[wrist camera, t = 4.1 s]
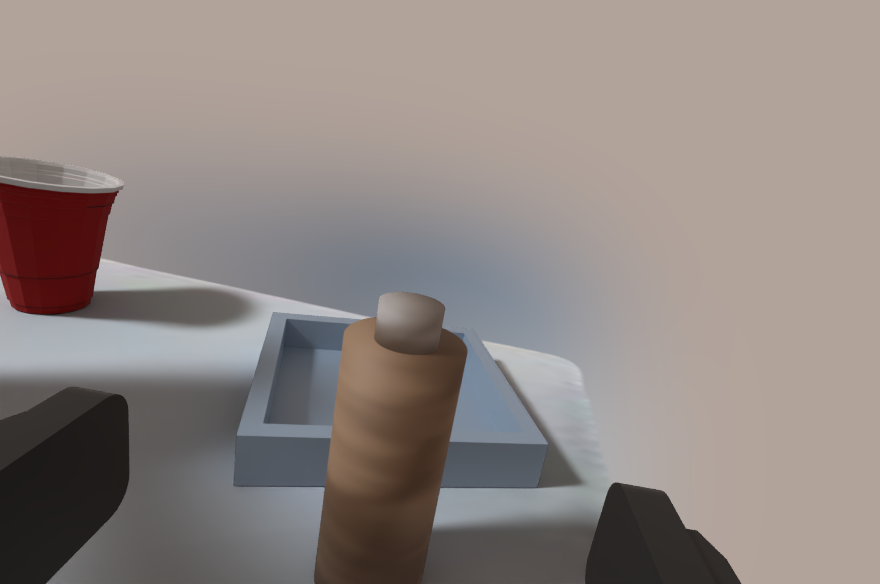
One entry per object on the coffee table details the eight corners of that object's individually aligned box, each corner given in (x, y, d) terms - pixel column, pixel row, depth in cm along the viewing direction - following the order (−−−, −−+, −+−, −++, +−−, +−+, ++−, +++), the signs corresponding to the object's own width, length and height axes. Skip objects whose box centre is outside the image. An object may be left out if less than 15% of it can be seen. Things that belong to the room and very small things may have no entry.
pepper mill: (312, 625, 21) (350, 322, 17) (315, 533, 26) (346, 277, 22) (429, 619, 22) (490, 333, 18) (412, 532, 27) (458, 289, 23)
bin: (233, 485, 28) (236, 435, 27) (270, 346, 45) (273, 312, 44) (536, 487, 32) (548, 444, 31) (467, 359, 49) (473, 329, 48)
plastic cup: (115, 327, 43) (112, 184, 40) (-52, 326, 39) (-72, 166, 35) (134, 285, 53) (133, 167, 49) (1, 280, 48) (-11, 150, 45)
